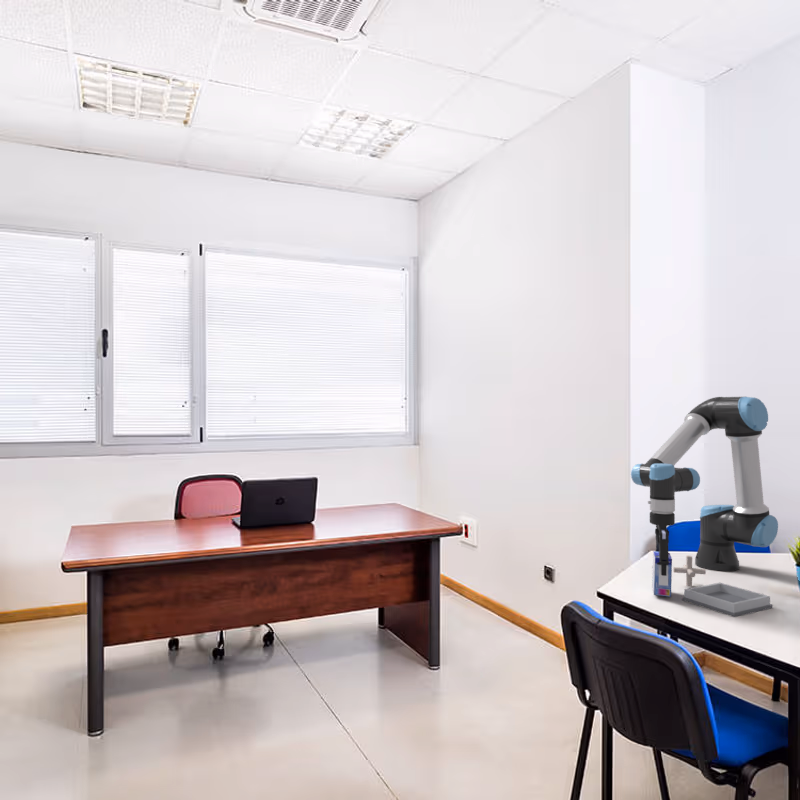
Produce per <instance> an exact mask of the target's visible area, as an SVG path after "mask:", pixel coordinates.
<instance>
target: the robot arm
mask: <svg viewBox="0 0 800 800" xmlns="http://www.w3.org/2000/svg"><path fill="white" fill-rule="evenodd" d="M768 422H769V412H768V409H767V406H766V405H765V403H764V402H762V401H761V399H760V398H757V397H752V396H751V397H750V396H715V397H712V398H708V399H706V400H705V401H702V402H701V403H700V404H697V405H696V406H695V407H694V408H692V409H691V410H690V411H689V412H688V413H687V414H686V415H685V416H684V420H683V422H682V424H681V425H680V426H679V427H678V428H677V429H676V430H675V431H674V432H673V433H672V434H671V436H669V437H668V439H667V440H665V442H664V443H663V444H662V445H661V446H660V447H659V448H658V449H657V451H655V453H654V454H653V455H652V456H651V457H650V458H649V459H648V460H647V461H646V462H645V463H637V464H635V465H634V466H632V469H631V471H630V475H631V476H630V477H631V480H632V482H633V483H634V484H635V485H637V486H642V487H648V488H649V500H648V501H647V504H648V505H649V510H650V512H649V523H650V524H652V525H654V526H655V529H654V534H655V549H654V550H655V551H657V552H659V562H657V565H659V585H664V586H668V565H669V557H668V553H669V543H670V542H669V541H670V540H669V537H670V531H669V529H668V528H667V527H669V526H670V527H671V526H674V525H675V524H676V523H675V519H676V517H675V513H674V512H675V511H676V499H675V498H676V497H675V495H676V494H675V493H677V492H678V493H679V492H689V491H693V490H696V489H698V487H699V486H700V483H701V476H700V474H699V472H698V471H697V470H696V469H694V468H693V467H675V465H677V463H678V462H680V460H681V459H682V458H683V456H684V455H685V454H686V453H687V452H688V451H689V450H690V449H691V448H692V447H693V446H694V445H695V443H696V442H697V441H698V440H699V439H700V438H701V437H702V436H705V435H708V433H709V432H710V431H712V430H718V429H719V430H721V429H722V430H724V432H725V434H724V435H725V437H726V438H728V439H729V440H730V447H731V457H732V458H731V459H732V467H733V477H734V478H733V479H734V488H735V499H736V504H735V505H732V504H711V505H709V504H708V505H704V506H702V507H701V509H700V515H699V519H700V521H699V522H700V523H699V525H700V526H699V527H700V528H699V529H700V534H699V538H700V540H699V543H700V544H699V546H698V549H697V552H696V555H695V558H694V564H695V566H697V567H700V568H701V569H705V570H706V569H707V570H712V571H723V572H724V571H725V572H726V571H727V572H731V571H737V570H739V569H740V560H739V559H738V555H737V552H736V549H735V543H738V544H743V545H746V546H747V545H748V546H752V547H757V548H758V547H760V548H767V547H769V546H771V544H772V543H774V541H775V539H776V538H777V535H778V531H779V522H778V519H777V518H776V517H775V516H774V515H771V514H770V507H768V505H766V504H765V503H764V495H763V494H764V492H763V483H762V480H763V479H762V472H761V471H762V470H761V462H760V461H761V460H760V451H759V450H760V449H759V440H758V439H759V437H761V435H762V434H763V430H765V429H766V428H767V426H768ZM664 560H666V561H664Z"/></svg>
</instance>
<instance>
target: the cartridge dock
mask: <svg viewBox="0 0 800 800" xmlns="http://www.w3.org/2000/svg"><path fill="white" fill-rule="evenodd" d="M683 591H684V595H683V596H681V600H682V601H683V602H685V603H690V604H693V605H696V606H699V607H702V608H704V609H705V608H706V609H708V610H711V611H715V612H718V613H721V614H724V615H728V616H729V617H730V616H731V617H733V618H735V617H740V616H741V617H742V616H744V615H748V614H749V615H750V614H753V613H757V612H762V611H767V610H769V609H773V606H774V605H773V604H771V596H770V595H767V594H764V593H759V592H756V591H752V590H750V589H749V590H748V589H745V588H742V587H737V586H734V585H730V584H727V583H723V582H715V583H710V584H705V585H699V586H694V587H689V588H685V589H684V590H683Z"/></svg>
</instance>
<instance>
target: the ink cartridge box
mask: <svg viewBox="0 0 800 800" xmlns="http://www.w3.org/2000/svg"><path fill="white" fill-rule="evenodd" d="M668 557H669V565H668V586H664V585H659V565H657V562H659V552H657V551H653V552H652V573H651V574H652V576H651V578H652V579H651V581H652V582H651V588H652V593H653V595H654V596H657V597H658V596H659V597H668V598H672V578H673V576H672V575H673V574H672V573H673V572H672V571H673V557H672V556H671V553H670V552H668ZM664 561H666V560H664Z"/></svg>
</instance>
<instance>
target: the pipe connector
mask: <svg viewBox="0 0 800 800" xmlns="http://www.w3.org/2000/svg"><path fill="white" fill-rule="evenodd" d="M685 558H686V559H685V561H686V562H685V563H686V564H684V565H683V567H679V566H678V567H677V566H672V571H673V572H672V573H678V574H686V576H685V578H686V579H685V585H686V586H687V587H693V578H695V577H696V575H706V568H698V567H697V568H696V567H695V568H694V567H693V556H692V555H686V557H685Z"/></svg>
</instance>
